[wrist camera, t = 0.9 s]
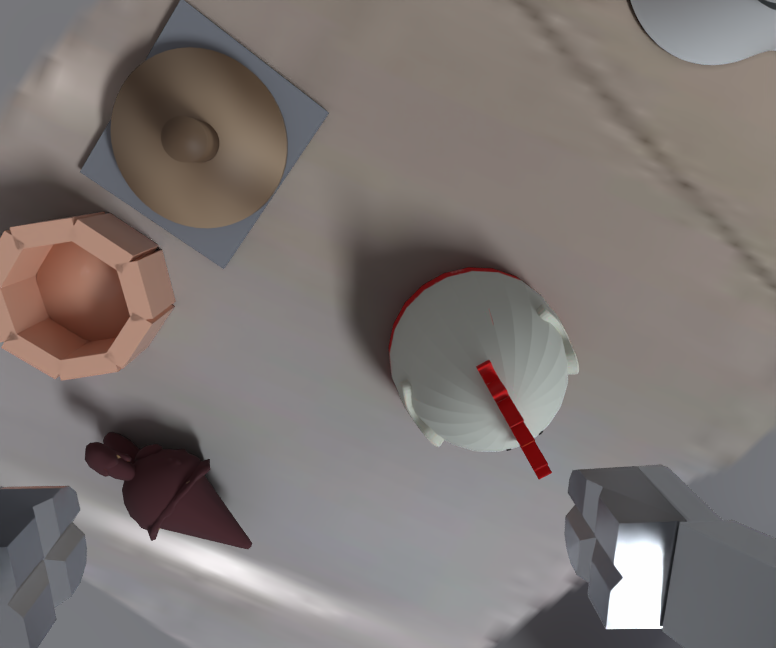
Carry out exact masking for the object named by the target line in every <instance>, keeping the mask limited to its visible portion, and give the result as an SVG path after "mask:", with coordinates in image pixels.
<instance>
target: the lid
mask: <svg viewBox="0 0 776 648" xmlns="http://www.w3.org/2000/svg"><path fill="white" fill-rule="evenodd" d="M111 143H112V148H113V153H114V156H115V159H116V162H117V165H118V168H119V170H120V172H121V174H122V176H123V178H124V179H125V181H126V182H127V184H128V186H129V187H130V188H131V190H132V191H133V192H134V193H135V195H136V196H137V197H138V198H139V199H140V200H141V201H142V202H143V203H144V204H145V205H146V206H148V207H149V208H150V209H152V210H153V211H154V212H156V213H157V214H159V215H161V216H162V217H164V218H166V219H168V220H170V221H173V222H175V223H178V224H181V225H185V226H189V227H195V228H218V227H223V226H228V225H231V224H234V223H236V222H239V221H241V220H243V219H245V218H247V217H249V216H251V215H252V214H254V213H255V212H257V211H258V210H259V209H260V208H262V207H263V206H264V205H265V204H266V203H267V202H268V200H269V199H270V198H271V197H272V195H273V194H274V193H275V191H276V189H277V187H278V186H279V184H280V181H281V179H282V177H283V174H284V170H285V167H286V162H287V155H288V139H287V131H286V126H285V122H284V118H283V116H282V113H281V111H280V108H279V106H278V104H277V102H276V100H275V98H274V97H273V95H272V94H271V92H270V91H269V89H268V88H267V87H266V86H265V84H264V83H263V82H262V81H261V80H260V79H259V78H258V77H257V76H256V75H255V74H254V73H253V72H251V71H250V70H249V69H248V68H247V67H245V66H244V65H242V64H241V63H239V62H238V61H236V60H235V59H233V58H231V57H229V56H227V55H225V54H222V53H219V52H216V51H213V50H208V49H204V48H193V47H187V48H176V49H172V50H168V51H164V52H162V53H159V54H157V55H155V56H153V57H151V58H149V59H148V60H146V61H144V62H143V63H142V64H141V65H139V66H138V67H137V68H136V69H135V70H134V71H133V72H132V73H131V74H130V75H129V76H128V78H127V79H126V81H125V82H124V84H123V85H122V87H121V89H120V91H119V93H118V95H117V97H116V101H115V104H114V107H113V111H112V117H111Z"/></svg>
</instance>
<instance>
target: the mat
mask: <svg viewBox="0 0 776 648" xmlns="http://www.w3.org/2000/svg"><path fill="white" fill-rule="evenodd" d="M187 47H193V48H204V49H208V50H213V51H216V52H219V53H222V54H225V55H227V56H229V57H231V58H233V59H235V60H236V61H238V62H239V63H241V64H242V65H244V66H245V67H247V68H248V69H249V70H250V71H251V72H253V73H254V74H255V75H256V76H257V77H258V78H259V79H260V80H261V81H262V82H263V83H264V84H265V86H266V87H267V88H268V89H269V91H270V92H271V94H272V95H273V97H274V98H275V100H276V102H277V104H278V106H279V108H280V111H281V113H282V116H283V118H284V122H285V126H286V131H287V139H288V155H287V162H286V167H285V170H284V174H283V177H282V179H281V181H280V184H279V186H278V187H277V189H276V191H277V190H278V188H279V187H280V185H281V184H282V182H283V181H284V179H285V178H286V176H287V175H288V173H289V172H290V170H291V169H292V167H293V166H294V164H295V163H296V161H297V160H298V158H299V157H300V155H301V154H302V152H303V151H304V150H305V148H306V147H307V145H308V144H309V142H310V141H311V139H312V138H313V136H314V135H315V133H316V132H317V130H318V129H319V127H320V126H321V124H322V123H323V121H324V120H325V118H326V117H327V115H328V114H329V113H328V112H327V111H326V110H325V109H323V108H322V107H321V106H319V105H318V104H317V103H316V102H314V101H313V100H312V99H310V98H309V97H308V96H307V95H305V94H304V93H303V92H301V91H300V90H299V89H298V88H296V87H295V86H294V85H292V84H291V83H290V82H289V81H287V80H286V79H285V78H283V77H282V76H281V75H279V74H278V73H277V72H276V71H274V70H273V69H272V68H270V67H269V66H268V65H267V64H265V63H264V62H263V61H261V60H260V59H259V58H258V57H256V56H255V55H254V54H252V53H251V52H250V51H249V50H247V49H246V48H245V47H243V46H242V45H241V44H240V43H238V42H237V41H236V40H234V39H233V38H232V37H230V36H229V35H228V34H227V33H225V32H224V31H223V30H221V29H220V28H219V27H218V26H216V25H215V24H214V23H212V22H211V21H210V20H209V19H207V18H206V17H205V16H203V15H202V14H201V13H200V12H198V11H197V10H196V9H194V8H193V7H192V6H191V5H189V4H188V3H187V2H185V1H184V0H180V2H179V3H178V5H177V7H176V9H175V10H174V12H173V14H172V15H171V17H170V19H169V21H168V22H167V24H166V26H165V27H164V29H163V31H162V32H161V34H160V36H159V38H158V39H157V41H156V43H155V44H154V46H153V48H152V50H151V51H150V53H149V55H148V56H147V58H146V60H148V59H149V58H151V57H153V56H155V55H157V54H159V53H162V52H164V51H168V50H172V49H176V48H187ZM146 60H145V61H146ZM80 172H81V173H82V174H84V175H85V176H87V177H88V178H90V179H91V180H93V181H94V182H96V183H97V184H99V185H100V186H102V187H103V188H104V189H106V190H107V191H109V192H110V193H112V194H113V195H115V196H116V197H118V198H119V199H121V200H122V201H124V202H125V203H127V204H128V205H130V206H131V207H133V208H134V209H136V210H137V211H139V212H140V213H142V214H143V215H144V216H146V217H147V218H149V219H150V220H152V221H153V222H155V223H156V224H158V225H159V226H161V227H162V228H164V229H165V230H167V231H168V232H170V233H171V234H173V235H174V236H176V237H177V238H179V239H180V240H181V241H183V242H184V243H186V244H187V245H189V246H190V247H192V248H193V249H195V250H196V251H198V252H199V253H201V254H202V255H204V256H205V257H207V258H208V259H210V260H211V261H213V262H214V263H216V264H217V265H219V266H220V267H221V268H223V269H224V268H225V267H226V265H227V264H228V262H229V261H230V259H231V258H232V256H233V255H234V253H235V252H236V250H237V249H238V247H239V246H240V245H241V243H242V242H243V240H244V239H245V237H246V236H247V234H248V233H249V231H250V230H251V228H252V227H253V225H254V224H255V222H256V221H257V219H258V218H259V216H260V215H261V213H262V212H263V210H264V209H265V207H266V206H267V204H268V203H269V201H270V200H271V199H272V197H273V196H274V194H275V193H276V191H275V193H274V194H273V195H272V197H271V198H270V199H269V200H268V202H267V203H266V204H265V205H264V206H263V207H262V208H260V209H259V210H258V211H257V212H255V213H254V214H252V215H251V216H249V217H247V218H245V219H243V220H241V221H239V222H236V223H234V224H231V225H228V226H223V227H218V228H195V227H189V226H185V225H181V224H178V223H175V222H173V221H170V220H168V219H166V218H164V217H162V216H161V215H159V214H157V213H156V212H154V211H153V210H152V209H150V208H149V207H148V206H146V205H145V204H144V203H143V202H142V201H141V200H140V199H139V198H138V197H137V196H136V195H135V193H134V192H133V191H132V190H131V188H130V187H129V186H128V184H127V182H126V181H125V179H124V178H123V176H122V174H121V172H120V170H119V168H118V165H117V162H116V159H115V156H114V153H113V148H112V143H111V120H110V121H109V123H108V125H107V126H106V128H105V130H104V132H103V133H102V135H101V137H100V138H99V140H98V142H97V144H96V145H95V147H94V149H93V150H92V152H91V154H90V156H89V157H88V159H87V161H86V162H85V164H84V166H83V167H82V169H81V171H80Z"/></svg>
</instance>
